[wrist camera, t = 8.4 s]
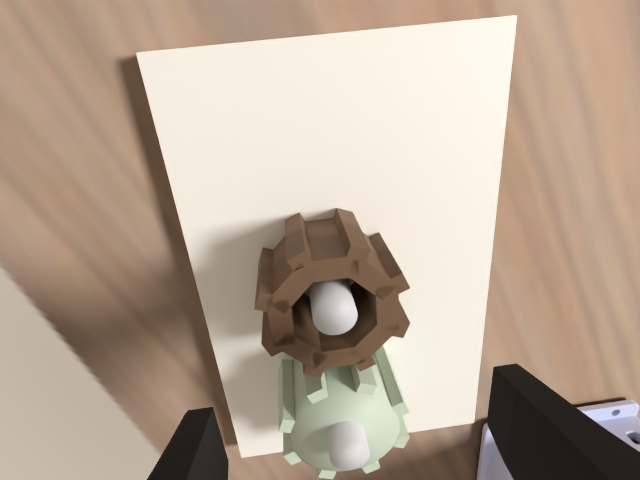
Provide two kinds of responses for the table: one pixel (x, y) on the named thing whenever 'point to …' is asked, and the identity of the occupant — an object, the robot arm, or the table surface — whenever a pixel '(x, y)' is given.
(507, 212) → the table surface
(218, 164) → the gear board
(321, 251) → the walnut gear
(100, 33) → the table surface
